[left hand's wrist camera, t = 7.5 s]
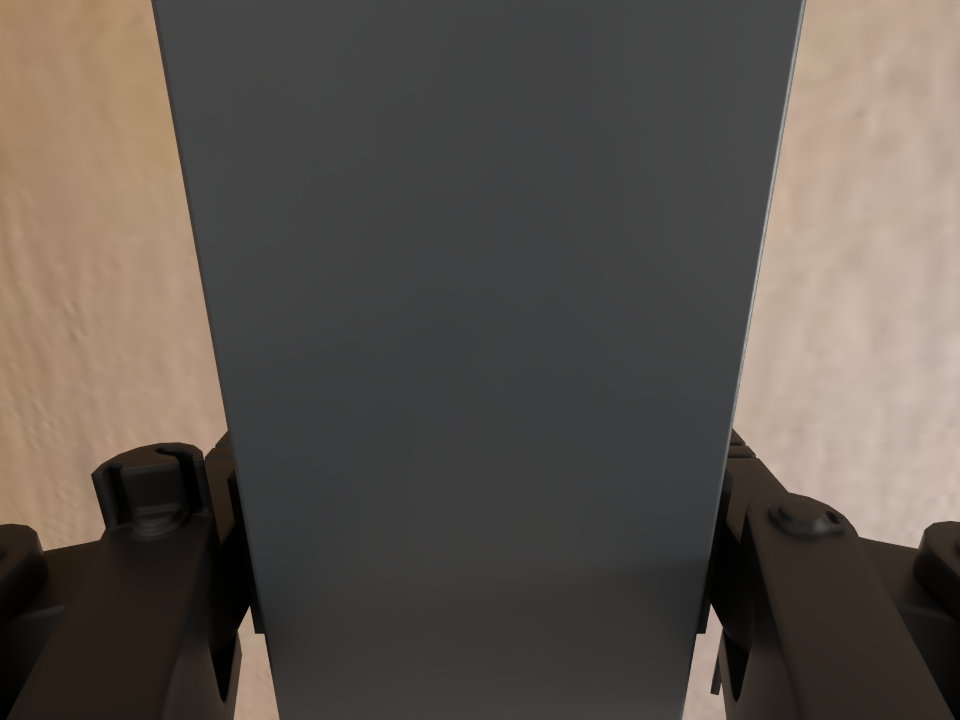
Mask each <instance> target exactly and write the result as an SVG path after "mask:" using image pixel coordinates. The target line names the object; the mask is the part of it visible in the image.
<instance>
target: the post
mask: <svg viewBox="0 0 960 720" xmlns="http://www.w3.org/2000/svg"><path fill="white" fill-rule="evenodd" d="M151 2H152V7H153V13H154V18H155V24H156V30H157V35H158V41H159V46H160V52H161V58H162V63H163V69H164V74H165V80H166V86H167V91H168V97H169V102H170V108H171V114H172V119H173V125H174V130H175V136H176V142H177V147H178V153H179V158H180V164H181V170H182V175H183V181H184V186H185V192H186V198H187V203H188V209H189V214H190V220H191V226H192V231H193V237H194V242H195V248H196V254H197V259H198V265H199V270H200V276H201V282H202V287H203V293H204V298H205V304H206V310H207V315H208V321H209V326H210V332H211V338H212V343H213V349H214V354H215V360H216V366H217V371H218V377H219V382H220V388H221V394H222V399H223V405H224V410H225V416H226V422H227V427H228V433H229V438H230V444H231V450H232V455H233V461H234V466H235V472H236V478H237V483H238V489H239V495H240V500H241V506H242V511H243V517H244V523H245V528H246V534H247V539H248V545H249V551H250V556H251V562H252V567H253V573H254V579H255V584H256V590H257V595H258V601H259V607H260V612H261V618H262V623H263V629H264V635H265V640H266V646H267V651H268V657H269V663H270V668H271V674H272V679H273V685H274V691H275V696H276V702H277V707H278V713H279V719H280V720H682V716H683V710H684V704H685V698H686V693H687V687H688V681H689V675H690V669H691V664H692V658H693V652H694V646H695V641H696V635H697V629H698V623H699V617H700V612H701V606H702V600H703V594H704V589H705V583H706V577H707V571H708V565H709V560H710V554H711V548H712V542H713V536H714V531H715V525H716V519H717V513H718V508H719V502H720V496H721V490H722V484H723V479H724V473H725V467H726V461H727V456H728V450H729V444H730V438H731V432H732V427H733V421H734V415H735V409H736V403H737V398H738V392H739V386H740V380H741V375H742V369H743V363H744V357H745V351H746V346H747V340H748V334H749V328H750V323H751V317H752V311H753V305H754V299H755V294H756V288H757V282H758V276H759V270H760V265H761V259H762V253H763V247H764V242H765V236H766V230H767V224H768V218H769V213H770V207H771V201H772V195H773V190H774V184H775V178H776V172H777V166H778V161H779V155H780V149H781V143H782V137H783V132H784V126H785V120H786V114H787V109H788V103H789V97H790V91H791V85H792V80H793V74H794V68H795V62H796V57H797V51H798V45H799V39H800V33H801V28H802V22H803V16H804V10H805V4H806V0H151Z"/></svg>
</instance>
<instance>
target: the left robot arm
mask: <svg viewBox="0 0 960 720" xmlns="http://www.w3.org/2000/svg"><path fill="white" fill-rule="evenodd" d="M215 446H216V447H215V448H212V450H211V451H210V452H209V453H208V454H207V455H206V457H205V460H204V457H203V452H202V451H201V450H200V449H198V448H197V447H195V446H194V445H190V444H185V443H179V442H177V443H158V444H153V445H148V446H143V447H138V448H136V449H133V450H130V451H127V452H124V453H121V454H119V455H117V456H115V457H113V458H112V459H110V460H108V461H106V462H104V463H103V464H101V465H100V466H99V467H98V468H97V469H96V470H95V471H94V472H93V473H92V474H91V477H92V480H93V484H94V487H95V491H96V494H97V498H98V501H99V505H100V509H101V512H102V516H103V519H104V523H105V526H106V529H105V531H104V533H103V535H102V537H101V539H100V540H98V541H94V542H89V543H84V544H79V545H74V546H69V547H64V548H59V549H53V550H48V551H43V550H42V547H41V544H40V541H39V538H38V535H37V532H36V531H34V530H33V529H32V528H30V527H29V526H26V525H18V524H4V525H0V720H233V719H234V712H235V704H236V696H237V689H238V681H239V674H240V666H241V658H242V652H241V645H240V639H239V634H238V628H239V626H240V624H241V622H242V620H243V618H244V616H245V614H246V612H247V610H248V608H249V606H250V608H251V614H252V619H253V625H254V630H255V634H264V629H263V623H262V618H261V612H260V607H259V601H258V595H257V590H256V584H255V579H254V573H253V567H252V562H251V556H250V551H249V545H248V539H247V534H246V528H245V523H244V517H243V511H242V506H241V500H240V495H239V489H238V483H237V478H236V472H235V466H234V461H233V455H232V450H231V444H230V438H229V433H228V431H227V432H226V433H225V434H224V436H223V437H222V438H221V439H220V440H219V441H218V443H217V444H216V445H215ZM711 604H712V606H713V608H714V610H715V612H716V614H717V616H718V618H719V620H720V622H721V624H722V626H723V629H722V634H721V639H720V644H719V649H718V654H717V660H716V665H715V670H714V675H713V680H712V686H711V694H715V695H719V691H720V686H721V682H722V687H723V695H724V703H725V710H726V718H727V720H960V522H954V521H947V522H938V523H933V524H932V525H930V526H929V527H928V528H926V529H925V530H924V533H923V536H922V539H921V542H920V545H919V548H918V549H916V548H911V547H905V546H900V545H895V544H890V543H885V542H879V541H874V540H869V539H865V538H861V537H859V536H858V534H857V532H856V530H855V528H854V527H853V526H852V524H851V523H850V522H849V521H848V520H847V519H846V517H845V516H844V515H842V514H841V513H839V512H838V511H836V510H835V509H833V508H832V507H830V506H829V505H827V504H824V503H822V502H820V501H817V500H815V499H812V498H810V497H807V496H802V495H798V494H794V493H789V492H788V491H787V490H786V489H785V488H784V487H783V486H782V484H781V483H780V482H779V481H778V480H777V479H776V478H775V476H774V475H773V474H772V473H771V472H770V471H769V470H768V468H767V467H766V466H765V465H764V464H763V463H762V461H761V460H760V459H759V458H756V455H755V453H754V452H753V451H752V450H751V449H750V448H749V446H746V445H745V442H744V441H743V440H742V438H741V437H740V436H739V435H738V434H737V433H736V432H735V430H734V429H733V428H732V432H731V438H730V444H729V450H728V456H727V461H726V467H725V473H724V479H723V484H722V490H721V496H720V502H719V508H718V513H717V519H716V525H715V531H714V536H713V542H712V548H711V554H710V560H709V565H708V571H707V577H706V583H705V589H704V594H703V600H702V606H701V612H700V617H699V623H698V629H697V634H705V632H706V627H707V622H708V616H709V611H710V605H711Z"/></svg>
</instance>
